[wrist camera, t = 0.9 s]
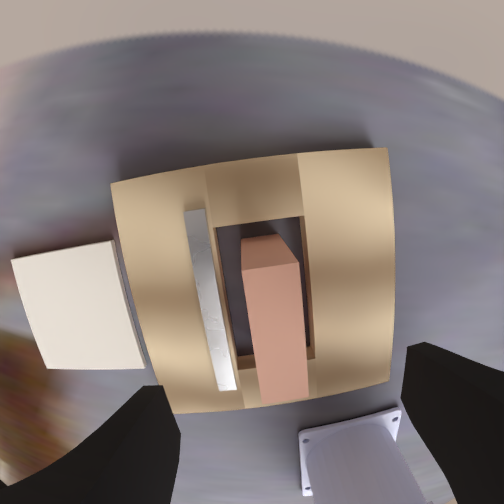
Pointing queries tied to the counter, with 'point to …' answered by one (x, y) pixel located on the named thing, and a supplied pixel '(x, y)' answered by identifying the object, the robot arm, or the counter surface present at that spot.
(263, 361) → the peach cuboid
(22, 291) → the pad
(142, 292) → the gold flat square frame
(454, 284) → the counter surface
